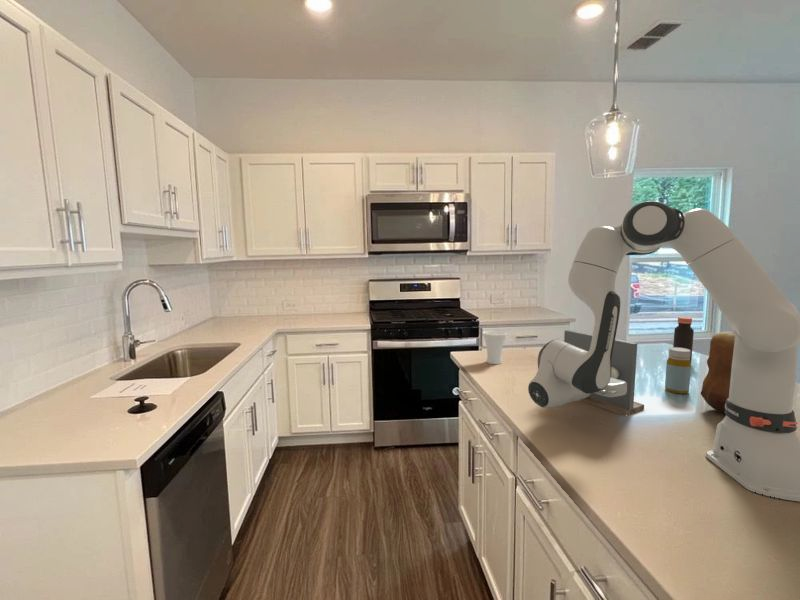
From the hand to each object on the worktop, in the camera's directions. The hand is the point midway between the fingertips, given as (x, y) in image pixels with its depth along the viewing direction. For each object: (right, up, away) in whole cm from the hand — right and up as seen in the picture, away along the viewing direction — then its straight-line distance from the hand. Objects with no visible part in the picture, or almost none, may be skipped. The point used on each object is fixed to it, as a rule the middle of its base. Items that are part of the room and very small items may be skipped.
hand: (604, 375), depth 124 cm
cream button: (+2, -2, +2) cm, 3 cm away
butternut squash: (+38, -12, 0) cm, 40 cm away
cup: (-20, -5, +58) cm, 62 cm away
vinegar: (+60, -5, +53) cm, 80 cm away
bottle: (+35, -9, +20) cm, 41 cm away
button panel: (+4, -10, +12) cm, 16 cm away
